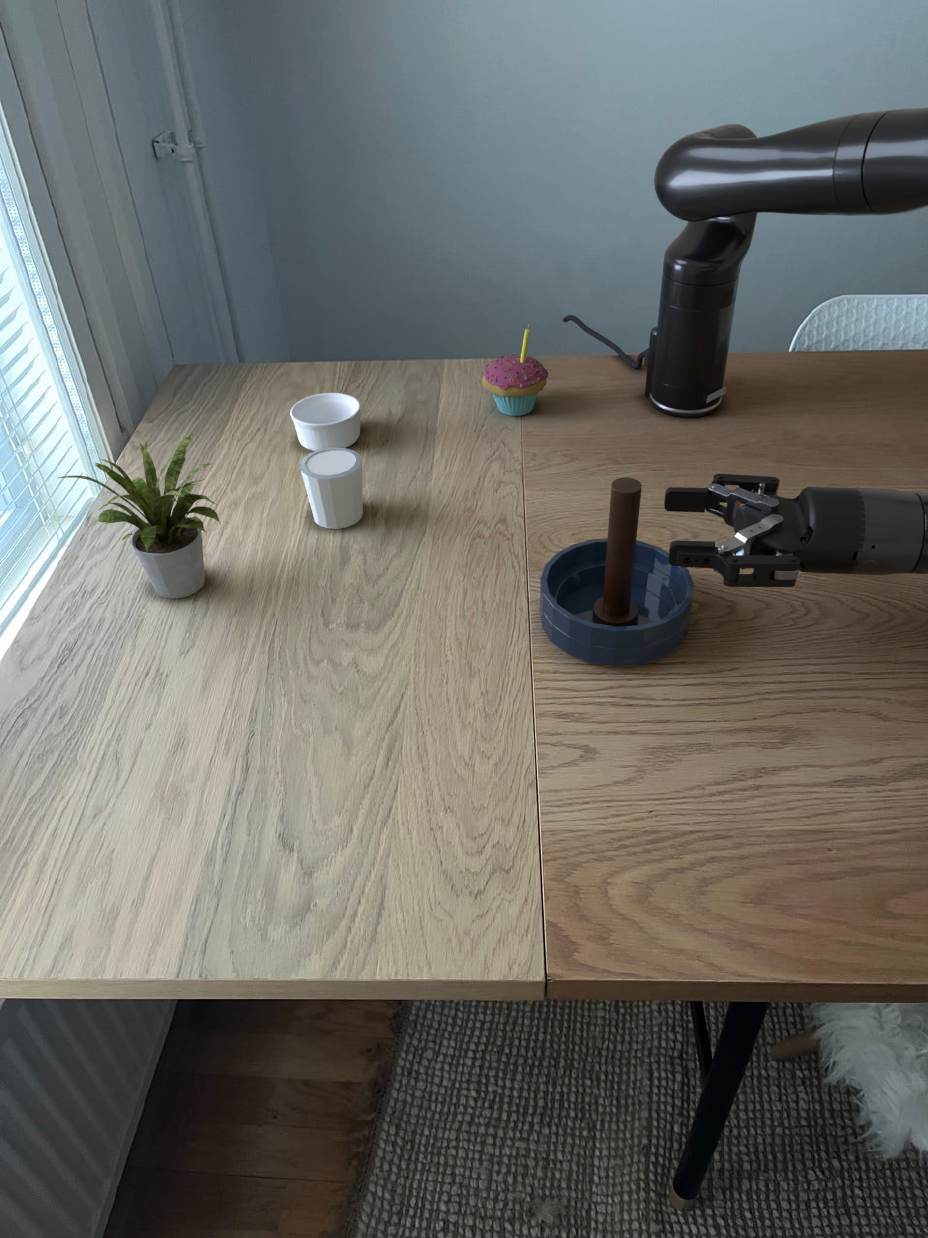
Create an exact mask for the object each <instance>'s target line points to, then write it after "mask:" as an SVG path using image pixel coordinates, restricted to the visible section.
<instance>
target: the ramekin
mask: <svg viewBox="0 0 928 1238" xmlns="http://www.w3.org/2000/svg"><path fill="white" fill-rule="evenodd" d="M289 413H290V418H291V420H292V422H293V424H294V428H295V432H296V435H297V438H298V441H299V443H300V445H301V446H302V447H303V448H305V449H307V450H310V451H312V452H315V451H317V450H320V449H325V448H332V447H334V448H346V449H347V448H349V447H350V446H352V445H353V444H354V443H356V442H357V440H358V439H359V437H360V435H361V417H360V415H361V403H360V401H359V400H358V399H357V398H356V397H354V396H352V395H350V394H346V393H341V392H323V393H316V394H312V395H309V396H306V397H304V398H302V399H300V400H298V401H297V402H296V403H294V405H292V407H291V408H290V411H289Z"/></svg>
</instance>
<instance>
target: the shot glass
mask: <svg viewBox="0 0 928 1238" xmlns="http://www.w3.org/2000/svg"><path fill="white" fill-rule="evenodd" d="M299 468H300V473H301V476H302V479H303V483H304V487H305V490H306V491H305V492H306V494H307V497H308V501H309V505H310V509H311V512H312V516H313V520H314V523H316V524H317V525H318V526H319V527H321V528H325V529H327V530H328V529H329V530H339V529H346V528H349V527H351V526H354V525H355V524H357V523H358V522H359V521H360V520H361V519H362V517H363V515H364V505H363V504H364V503H363V502H364V501H363V459H362V456H361V455H360V454H359V453H358V452H356V451H355V450H353V449H350V448H347V447H346V448H334V447H332V448H325V449H320V450H317V451H312V452H310V453H309V454H307V455H306V456H304V457H303V458H302V459H301V460H300V463H299Z"/></svg>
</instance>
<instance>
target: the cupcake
mask: <svg viewBox="0 0 928 1238" xmlns="http://www.w3.org/2000/svg"><path fill="white" fill-rule="evenodd" d="M530 328H531V323H528V326H527V328H525V330H524V334H523V339H522V340H523V341H522V348H521V353H520V354H508V355H505V354H504V355H501V356H498V357H496V358H495V359H493V360H492V361H490V362H489V363H487V365H485V366H484V367H485V368H484V370H483V372H482V373H483V375H482V386H483V388H484V389H485V390H486V391H488V392H490V393H491V394H492V396H493V398H494V401H495V404H496V407H497V410H498V411H499V412H500V413H501V414H503V415H505V416H511V417H521V416H524V415H528V414H530V413H531V412H532V411H533V409H534V407H535V404H536V400H537V398H538V395H539V394H540V392H542V391H543V390H544V388H545V386H546V385H547V381H548V380H547V379H548V378H549V371H548V370H547V369H546V368H545V367H544V364H542V362H541V361H539V360H538V359H536V358H535V357H532V356H529V355H527V353H528V347H529V346H528V345H529V341H530V335H531V329H530Z"/></svg>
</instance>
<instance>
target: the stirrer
mask: <svg viewBox="0 0 928 1238" xmlns="http://www.w3.org/2000/svg"><path fill="white" fill-rule="evenodd" d="M642 486H643V485H642V483H641V481H640V480H638V479H636V478H633V477H618V478H616V479H613V481H612V482H611V485H610V499H609V512H608V527H607V538H608V539H607V552H606V566H605V579H604V593H603V596H602V597H600V598H599V599H597V600H596V601H595V603H594V605H593V615H592V617H593V620H594V622H595V623H596V624H603V625H610V626H617V627H620V626H635V625H636V624H637V622H638V616H639V607H638V605H637V603H636V602H635V601H634V600H633V599H631V590H632V580H633V570H634V560H635V550H636V540H638V539H637V537H638V529H639V528H638V527H639V518H640V510H641V509H640V507H641V498H642Z"/></svg>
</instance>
